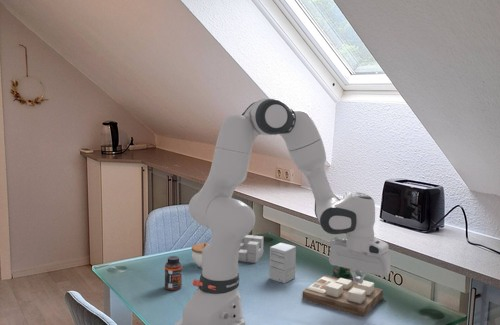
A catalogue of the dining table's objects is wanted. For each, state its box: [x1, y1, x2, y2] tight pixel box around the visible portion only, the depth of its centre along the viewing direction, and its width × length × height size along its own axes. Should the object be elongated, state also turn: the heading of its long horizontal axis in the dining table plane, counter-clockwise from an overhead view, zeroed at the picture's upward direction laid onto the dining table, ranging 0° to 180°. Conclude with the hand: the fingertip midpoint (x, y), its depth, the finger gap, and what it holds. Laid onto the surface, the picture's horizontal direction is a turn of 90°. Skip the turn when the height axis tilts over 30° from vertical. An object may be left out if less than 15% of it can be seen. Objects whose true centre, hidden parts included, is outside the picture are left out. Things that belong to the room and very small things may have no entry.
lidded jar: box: [191, 242, 210, 269], centre depth 197 cm, size 11×11×9 cm
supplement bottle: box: [164, 255, 183, 291], centre depth 174 cm, size 6×6×11 cm
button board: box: [301, 274, 384, 318], centre depth 169 cm, size 18×22×3 cm
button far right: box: [357, 279, 375, 295], centre depth 168 cm, size 4×4×3 cm
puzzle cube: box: [238, 234, 265, 264], centre depth 208 cm, size 12×12×8 cm
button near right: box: [348, 287, 366, 304], centre depth 162 cm, size 4×4×3 cm
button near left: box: [326, 282, 343, 297], centre depth 166 cm, size 4×4×3 cm
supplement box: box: [268, 242, 297, 284], centre depth 185 cm, size 7×7×13 cm
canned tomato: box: [332, 265, 353, 280], centre depth 188 cm, size 8×8×11 cm
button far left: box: [336, 278, 353, 290], centre depth 173 cm, size 4×4×3 cm
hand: (358, 282), depth 161 cm, fingers closed
